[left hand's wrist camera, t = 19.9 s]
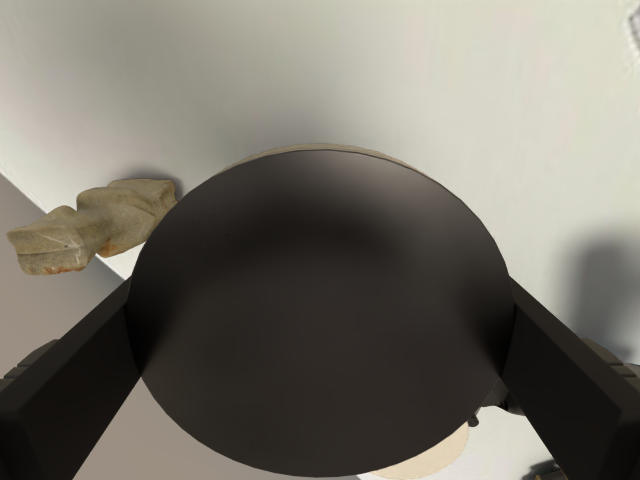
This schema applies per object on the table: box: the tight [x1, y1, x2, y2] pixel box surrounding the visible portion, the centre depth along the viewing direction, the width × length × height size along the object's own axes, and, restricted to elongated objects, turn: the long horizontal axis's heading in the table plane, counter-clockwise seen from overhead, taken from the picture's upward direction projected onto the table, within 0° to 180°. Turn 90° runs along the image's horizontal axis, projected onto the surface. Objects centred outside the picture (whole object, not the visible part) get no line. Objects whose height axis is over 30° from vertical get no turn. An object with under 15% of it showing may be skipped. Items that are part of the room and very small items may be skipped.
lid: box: [126, 143, 515, 478], centre depth 11 cm, size 12×12×2 cm
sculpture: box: [6, 179, 178, 275], centre depth 30 cm, size 6×7×15 cm
